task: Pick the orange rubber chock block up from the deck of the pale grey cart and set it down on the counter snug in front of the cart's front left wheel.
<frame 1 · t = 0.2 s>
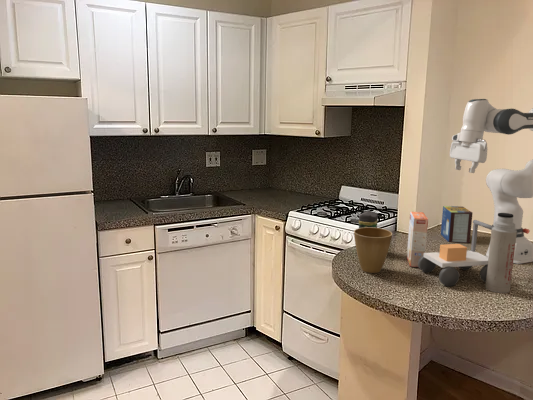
hand: (464, 171, 190), 39 cm above the worktop, tool pointing down, fingers open, 8 cm apart
coffee jar: (366, 252, 208), on the worktop
thermos bottle: (497, 289, 165), on the worktop
cart: (456, 276, 177), on the worktop
plant pot: (370, 270, 184), on the worktop
cracker box: (415, 262, 194), on the worktop
chock block: (452, 258, 173), point 8 cm above the worktop, touching cart
protein box: (454, 239, 233), on the worktop
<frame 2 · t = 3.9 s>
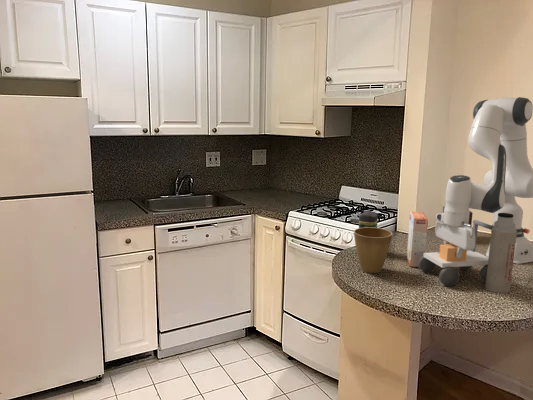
hand: (452, 254, 172), 10 cm above the worktop, tool pointing down, fingers closed on chock block, 5 cm apart
chock block: (452, 258, 173), point 8 cm above the worktop, touching cart, gripper
everything else where it was.
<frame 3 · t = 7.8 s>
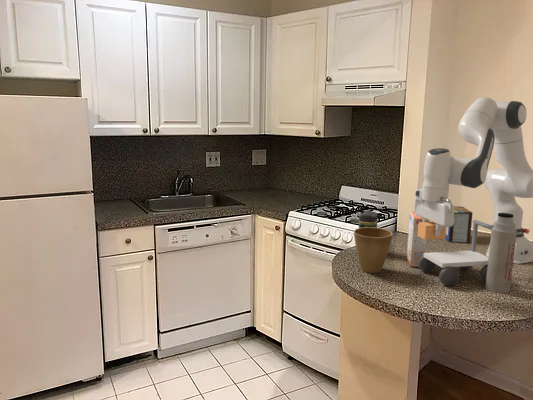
hand: (431, 233, 163), 20 cm above the worktop, tool pointing down, fingers closed on chock block, 5 cm apart
chock block: (431, 237, 163), point 19 cm above the worktop, touching gripper
everything else where it was.
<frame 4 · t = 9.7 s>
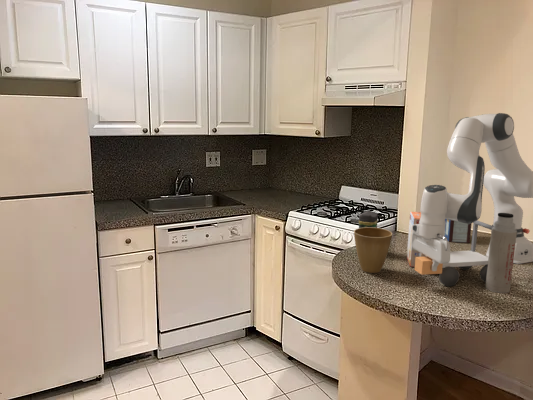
hand: (428, 267, 165), 7 cm above the worktop, tool pointing down, fingers closed on chock block, 5 cm apart
chock block: (428, 271, 165), point 6 cm above the worktop, touching gripper
everything else where it was.
when the fingers open (3 cm above the worktop, at t = 11.7 s): chock block drops 1 cm, on the worktop.
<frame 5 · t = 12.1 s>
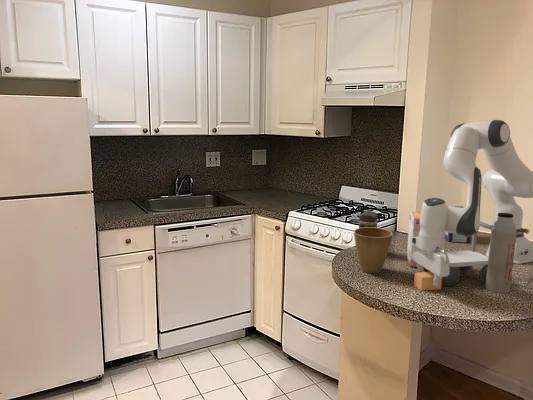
hand: (427, 280, 166), 3 cm above the worktop, tool pointing down, fingers open, 8 cm apart
chock block: (427, 287, 166), on the worktop
everything else where it was.
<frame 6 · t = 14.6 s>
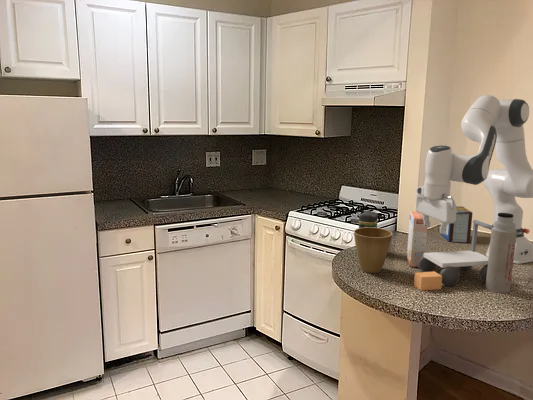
hand: (433, 229, 164), 21 cm above the worktop, tool pointing down, fingers open, 8 cm apart
nothing on the worktop moved.
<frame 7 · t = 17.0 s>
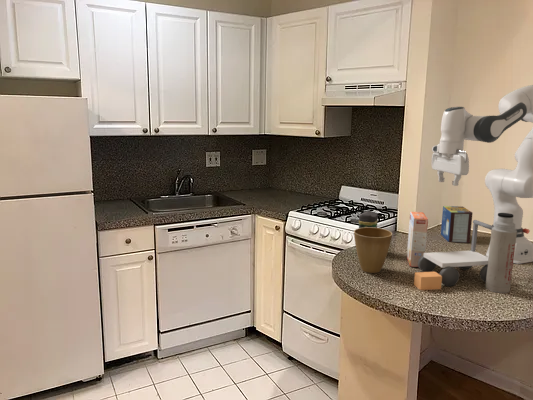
hand: (448, 183, 181), 35 cm above the worktop, tool pointing down, fingers open, 8 cm apart
nothing on the worktop moved.
at the end: chock block 0.8 cm from the target spot on the worktop beside the cart, on the worktop; chock block tilted 0°; the gripper is holding nothing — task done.
